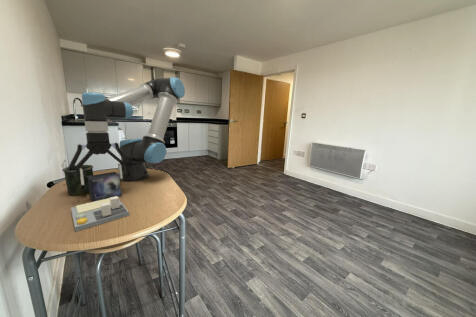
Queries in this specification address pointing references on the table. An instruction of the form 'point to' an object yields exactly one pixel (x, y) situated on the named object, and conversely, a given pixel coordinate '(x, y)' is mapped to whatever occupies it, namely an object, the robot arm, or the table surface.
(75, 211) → the breaker panel
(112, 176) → the small box
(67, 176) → the mug
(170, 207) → the table surface
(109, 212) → the toggle
